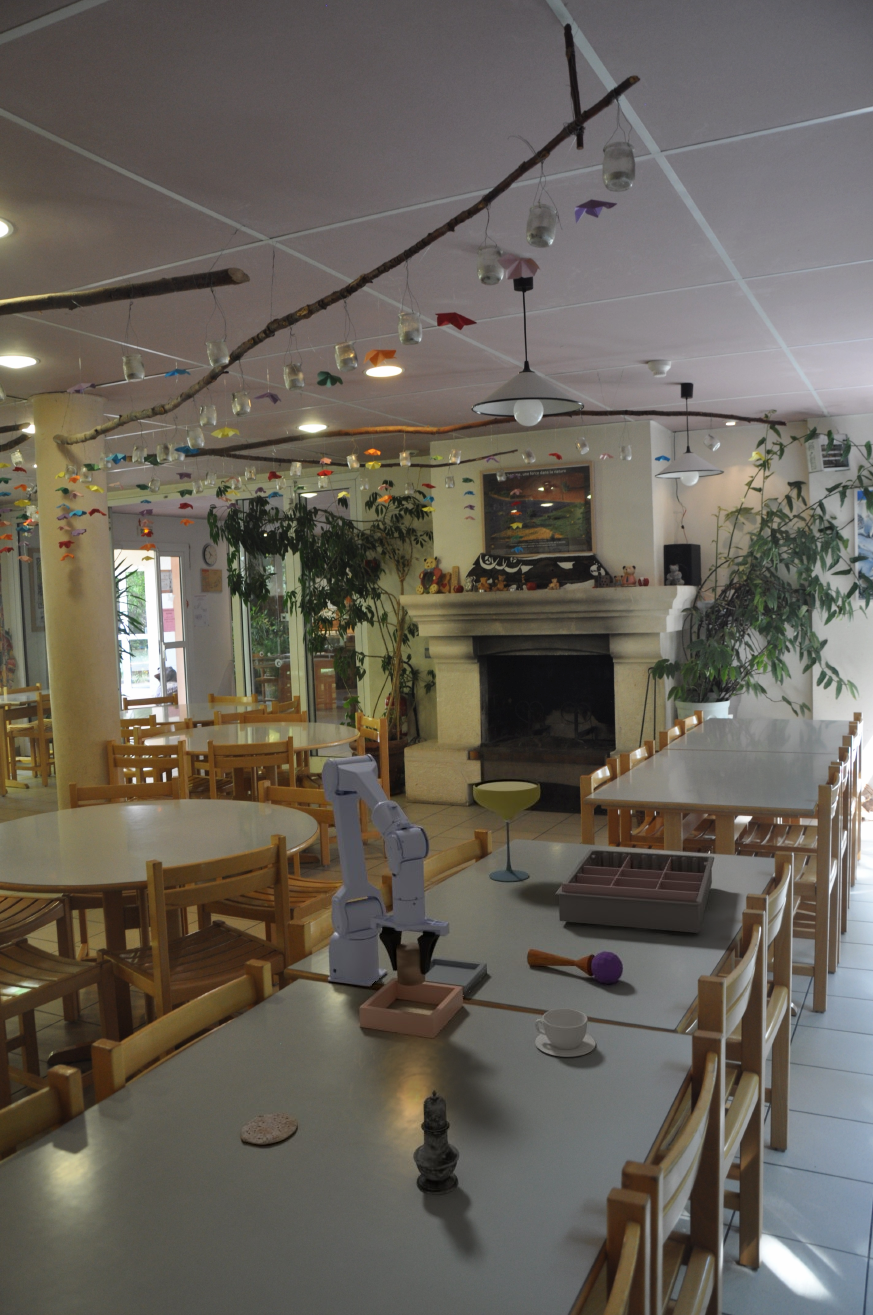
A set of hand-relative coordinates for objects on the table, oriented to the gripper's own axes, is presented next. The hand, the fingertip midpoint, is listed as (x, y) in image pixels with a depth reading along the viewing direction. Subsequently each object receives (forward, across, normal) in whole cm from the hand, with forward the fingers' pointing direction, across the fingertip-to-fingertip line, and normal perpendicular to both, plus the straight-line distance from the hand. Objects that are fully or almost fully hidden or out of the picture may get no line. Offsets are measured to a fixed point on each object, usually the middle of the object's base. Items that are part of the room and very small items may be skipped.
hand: (411, 970), depth 169 cm
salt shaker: (+8, +23, -44) cm, 50 cm away
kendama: (+9, +23, +28) cm, 37 cm away
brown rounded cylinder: (+2, 0, 0) cm, 2 cm away
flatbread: (+9, -4, -41) cm, 42 cm away
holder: (+8, 0, 0) cm, 8 cm away
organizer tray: (+9, +27, +74) cm, 79 cm away
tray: (+8, 0, +17) cm, 19 cm away
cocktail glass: (+8, -11, +89) cm, 90 cm away
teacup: (+9, +29, -2) cm, 30 cm away
